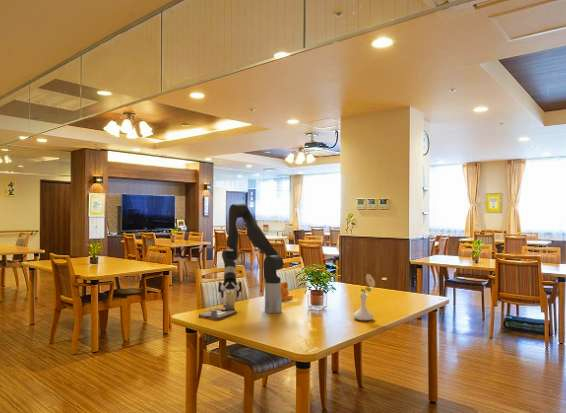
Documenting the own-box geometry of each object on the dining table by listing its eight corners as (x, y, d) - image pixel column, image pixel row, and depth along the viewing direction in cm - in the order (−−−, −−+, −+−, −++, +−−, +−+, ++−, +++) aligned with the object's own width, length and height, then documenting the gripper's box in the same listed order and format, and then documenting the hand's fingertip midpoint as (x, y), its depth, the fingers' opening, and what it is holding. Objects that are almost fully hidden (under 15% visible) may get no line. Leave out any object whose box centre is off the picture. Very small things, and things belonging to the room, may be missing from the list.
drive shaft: (228, 310, 243) (228, 304, 243) (224, 311, 240) (224, 306, 240) (224, 309, 245) (224, 304, 245) (220, 310, 241) (220, 305, 241)
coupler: (234, 309, 253) (234, 292, 253) (234, 311, 248) (234, 294, 248) (225, 309, 252) (225, 292, 252) (225, 311, 247) (225, 294, 247)
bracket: (280, 301, 277) (280, 283, 277) (274, 299, 283) (274, 281, 283) (293, 299, 283) (293, 281, 283) (287, 297, 289) (287, 280, 289)
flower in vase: (361, 323, 223) (361, 276, 224) (348, 318, 234) (349, 273, 234) (380, 320, 230) (380, 274, 230) (367, 315, 240) (367, 272, 240)
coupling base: (236, 313, 241) (236, 310, 241) (219, 320, 226) (219, 317, 226) (216, 311, 247) (216, 308, 247) (198, 317, 232) (198, 314, 232)
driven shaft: (218, 314, 232) (218, 309, 232) (216, 316, 228) (216, 311, 228) (213, 314, 232) (213, 309, 232) (211, 316, 228) (211, 310, 228)
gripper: (218, 271, 259) (218, 293, 248) (241, 271, 261) (242, 293, 250) (218, 278, 265) (218, 300, 253) (241, 278, 267) (241, 300, 255)
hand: (230, 297), depth 251 cm, fingers open, 8 cm apart
